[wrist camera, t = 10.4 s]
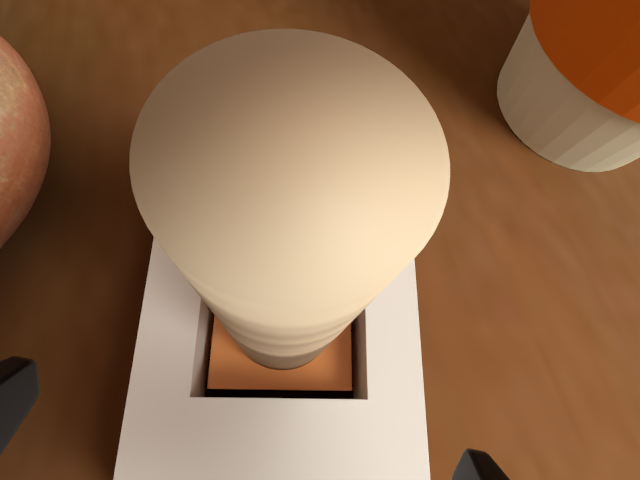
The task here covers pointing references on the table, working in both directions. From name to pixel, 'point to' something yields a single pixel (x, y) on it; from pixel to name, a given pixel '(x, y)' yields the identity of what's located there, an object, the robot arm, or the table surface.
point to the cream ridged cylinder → (288, 183)
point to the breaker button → (244, 374)
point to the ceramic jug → (20, 140)
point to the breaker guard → (271, 399)
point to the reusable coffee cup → (576, 83)
